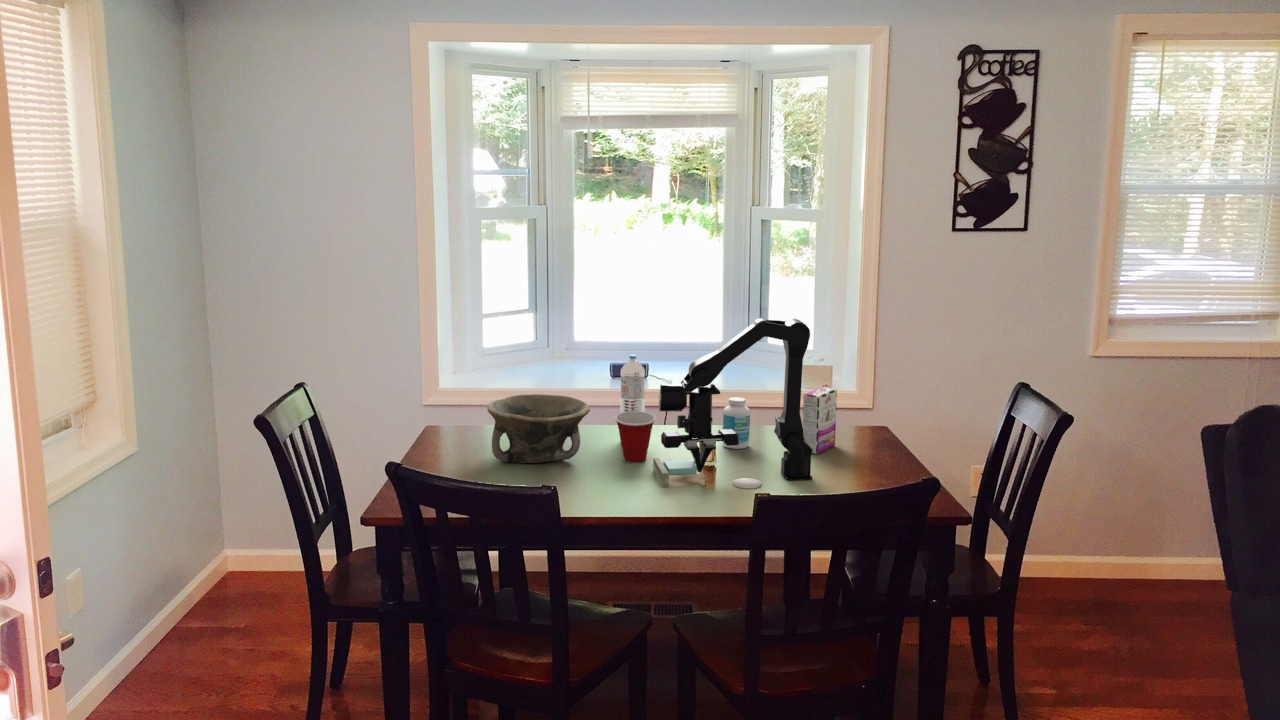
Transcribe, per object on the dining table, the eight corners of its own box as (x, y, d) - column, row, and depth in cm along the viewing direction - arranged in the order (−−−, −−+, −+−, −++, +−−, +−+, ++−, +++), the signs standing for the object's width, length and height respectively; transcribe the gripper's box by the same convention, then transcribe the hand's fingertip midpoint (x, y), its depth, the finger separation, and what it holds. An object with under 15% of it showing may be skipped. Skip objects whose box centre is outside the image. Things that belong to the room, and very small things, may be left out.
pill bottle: (736, 451, 267) (737, 403, 265) (716, 445, 273) (717, 398, 270) (754, 446, 272) (756, 399, 270) (735, 440, 278) (736, 394, 275)
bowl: (609, 455, 263) (609, 401, 260) (547, 480, 241) (546, 421, 239) (532, 439, 278) (531, 388, 275) (467, 461, 256) (466, 406, 253)
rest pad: (756, 479, 244) (756, 477, 243) (764, 487, 237) (764, 486, 237) (729, 480, 242) (729, 478, 242) (736, 489, 236) (737, 487, 236)
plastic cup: (614, 466, 253) (615, 421, 251) (614, 454, 264) (614, 411, 262) (656, 465, 254) (657, 421, 251) (654, 453, 264) (654, 410, 262)
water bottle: (644, 445, 272) (644, 357, 267) (619, 445, 272) (620, 357, 268) (644, 438, 279) (645, 353, 274) (620, 438, 279) (621, 352, 274)
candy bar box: (819, 443, 276) (821, 386, 273) (835, 446, 273) (838, 389, 270) (800, 451, 267) (802, 393, 264) (817, 455, 264) (819, 396, 261)
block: (690, 474, 248) (690, 459, 247) (696, 483, 241) (696, 467, 240) (663, 475, 246) (663, 460, 246) (668, 484, 240) (668, 468, 239)
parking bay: (693, 469, 251) (693, 456, 250) (704, 485, 238) (705, 471, 238) (653, 471, 249) (653, 458, 248) (662, 487, 237) (662, 473, 236)
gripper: (728, 402, 251) (727, 460, 254) (657, 404, 248) (656, 463, 251) (740, 412, 240) (738, 473, 243) (665, 415, 237) (665, 476, 240)
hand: (699, 471), depth 244 cm, fingers closed
